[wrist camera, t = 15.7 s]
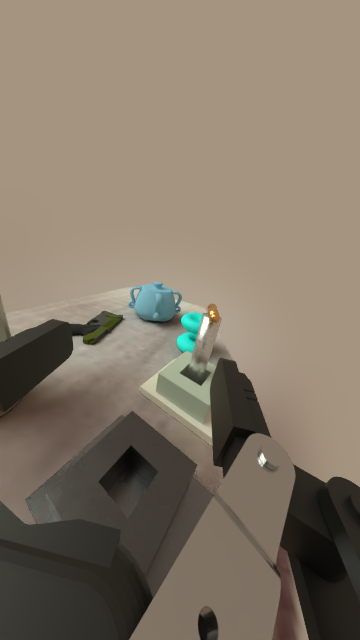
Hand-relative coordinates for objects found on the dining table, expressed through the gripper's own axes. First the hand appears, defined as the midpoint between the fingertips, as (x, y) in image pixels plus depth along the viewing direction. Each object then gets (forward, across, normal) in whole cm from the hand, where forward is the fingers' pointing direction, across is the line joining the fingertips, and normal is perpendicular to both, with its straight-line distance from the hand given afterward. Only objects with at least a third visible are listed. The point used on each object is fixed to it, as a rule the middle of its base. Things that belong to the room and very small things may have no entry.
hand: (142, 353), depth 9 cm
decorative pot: (+53, +10, +23) cm, 58 cm away
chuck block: (+1, 0, +22) cm, 22 cm away
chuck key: (+18, -6, +20) cm, 28 cm away
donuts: (+36, -6, +23) cm, 43 cm away
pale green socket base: (+18, -6, +22) cm, 29 cm away
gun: (+36, +27, +23) cm, 51 cm away
